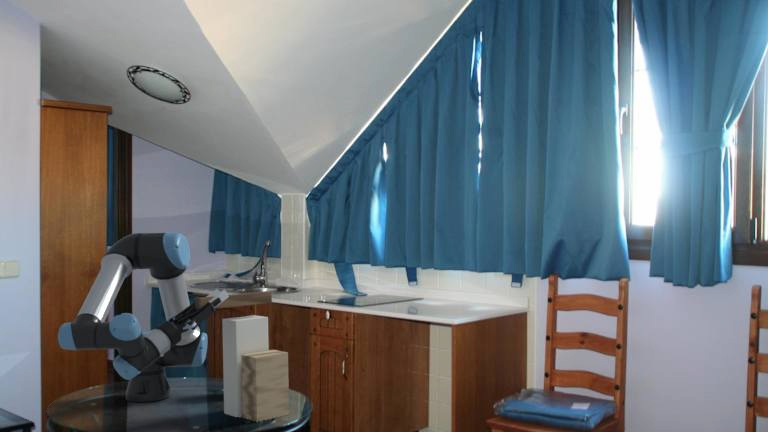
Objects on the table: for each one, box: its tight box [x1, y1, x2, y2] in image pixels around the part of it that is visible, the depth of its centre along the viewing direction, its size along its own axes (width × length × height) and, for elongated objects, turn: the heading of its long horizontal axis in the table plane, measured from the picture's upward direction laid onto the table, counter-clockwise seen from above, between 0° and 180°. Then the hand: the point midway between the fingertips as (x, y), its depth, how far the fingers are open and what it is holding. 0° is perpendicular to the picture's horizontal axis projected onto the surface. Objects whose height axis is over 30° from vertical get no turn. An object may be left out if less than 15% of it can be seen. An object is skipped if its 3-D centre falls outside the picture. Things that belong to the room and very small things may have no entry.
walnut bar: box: [194, 290, 273, 310], centre depth 231 cm, size 4×26×4 cm, turn 134°
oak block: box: [241, 349, 290, 423], centre depth 228 cm, size 8×12×20 cm, turn 134°
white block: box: [221, 314, 270, 418], centre depth 234 cm, size 8×12×30 cm, turn 134°
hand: (222, 292), depth 228 cm, fingers closed on walnut bar, 3 cm apart
